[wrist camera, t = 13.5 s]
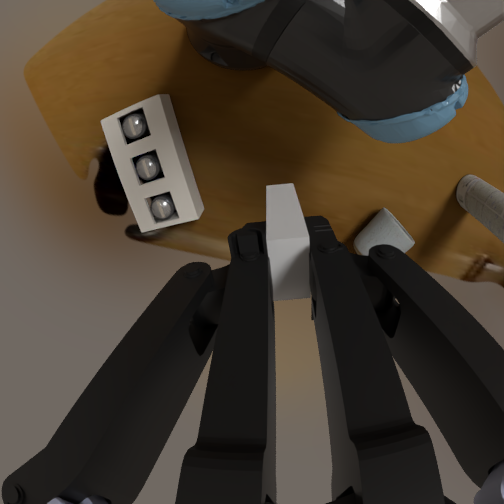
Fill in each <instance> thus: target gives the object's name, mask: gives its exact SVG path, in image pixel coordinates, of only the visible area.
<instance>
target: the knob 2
mask: <svg viewBox="0 0 504 504" xmlns="http://www.w3.org/2000/svg"><path fill="white" fill-rule="evenodd" d="M175 210H176V207H175V204H174V202H173V199H172V196H171V193H170V191H169V192H165V193H162V194H159V195H158V196H157V197H156V198H155V199H154V200H153V201H152V203H151V212H152V214H153V215H154V216H155V217H156V218H158V219H161V220H165V219H168V218H169V217H170V216H171V215H172V214H173V212H174V211H175Z"/></svg>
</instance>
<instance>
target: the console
mask: <svg viewBox="0 0 504 504" xmlns="http://www.w3.org/2000/svg"><path fill="white" fill-rule="evenodd" d="M140 109H143V110H144V114H145V117H146V120H147V123H148V127H149V130H150V133H151V136H148V137H145V138H143V139H140V140H138V141H135V142H133V143H130V144H128V145H127V143H126V139H125V136H124V133H123V130H122V127H121V124H120V120H119V119H120V118H122V117H124V116H127V115H129V114H131V113H133V112H136V111H138V110H140ZM101 124H102V127H103V130H104V134H105V137H106V140H107V143H108V146H109V149H110V152H111V155H112V158H113V161H114V164H115V166H116V169H117V172H118V175H119V177H120V180H121V183H122V186H123V188H124V191H125V193H126V196H127V198H128V201H129V204H130V206H131V208H132V211H133V213H134V216H135V218H136V221H137V223H138V225H139V228H140V230H141V232H146V231H150V230H155V229H159V228H163V227H167V226H171V225H175V224H180V223H184V222H188V221H193V220H197V219H199V217H200V216H201V214H202V212H203V210H204V206H203V203H202V200H201V197H200V194H199V191H198V188H197V185H196V182H195V178H194V175H193V172H192V169H191V166H190V163H189V159H188V156H187V153H186V150H185V146H184V143H183V140H182V137H181V133H180V130H179V127H178V123H177V120H176V116H175V113H174V110H173V106H172V103H171V99H170V96H169V94H158V95H156V96H153V97H151V98H148V99H146V100H143V101H141V102H139V103H136V104H134V105H132V106H130V107H128V108H125V109H123V110H121V111H119V112H117V113H115V114H113V115H111V116H109V117H107V118H105V119H103V120H101ZM154 149H156V152H157V155H158V158H159V161H160V164H161V167H162V170H163V173H164V176H165V177H164V178H160V179H157V180H154V181H151V182H148V183H145V184H142V185H141V183H140V180H139V178H138V175H137V172H136V169H135V166H134V163H133V161H132V158H133V157H135V156H138V155H141V154H143V153H146V152H149V151H152V150H154ZM169 191H170V193H171V196H172V199H173V202H174V204H175V207H176V210H177V212H173V214H172V215H171V216H170V217H169V218H168V219H165V220H161V219H158V218H156V217H153V215H152V212H151V209H150V207H149V204H148V202H147V199H146V198H148V197H152V196H155V195H158V194H162V193H165V192H169Z"/></svg>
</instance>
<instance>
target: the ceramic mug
mask: <svg viewBox="0 0 504 504" xmlns="http://www.w3.org/2000/svg"><path fill="white" fill-rule="evenodd" d="M381 244H385V245H386V244H388V245H391V246H394V247H396V248H398V249H400V250H401V251H402V252H404V253H405V252H406V251H408V250H409V249H410V248H411V247H412V246H413V245H414V244H415V242H414V240H413V238H412V237H411V236H410V235H409V233H408V232H407V231H406V230H405V229H404V227H403V226H402V225H401V224H400V223H399V221H398V220H397V219H396V218H395V217H394V216H393V215H392V214H391V213H390V212H389V211H388V210H387V209H386V208H382V209H381V210H380V212H379V213H378V214H377V215H376V216H375V217H374V218H373V219H372V220H371V221H370V222H369V224H368V225H367V226H366V227H365V228H364V229H363V230H362V231H361V232H360V233H359V234H358V235H357V237H356V238H355V240H354V242H353V246H354V249H355V251H356V253H357V254H358V255H367V256H368V253H369V249H370V248H371V247H373V246H375V245H381Z"/></svg>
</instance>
